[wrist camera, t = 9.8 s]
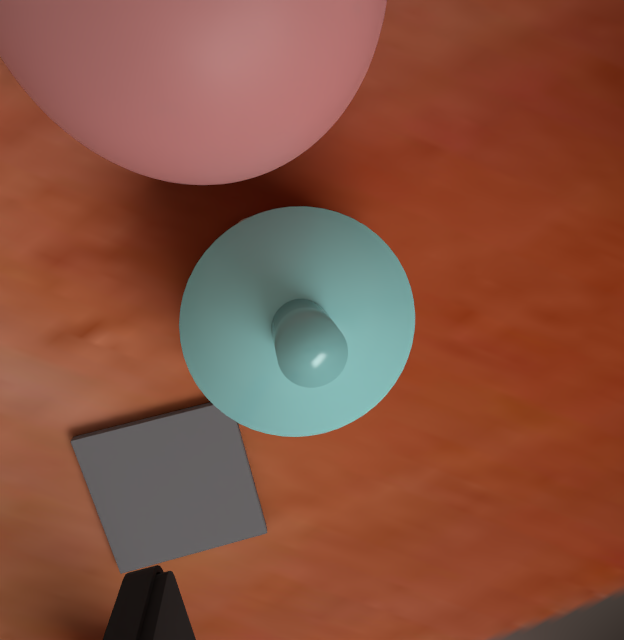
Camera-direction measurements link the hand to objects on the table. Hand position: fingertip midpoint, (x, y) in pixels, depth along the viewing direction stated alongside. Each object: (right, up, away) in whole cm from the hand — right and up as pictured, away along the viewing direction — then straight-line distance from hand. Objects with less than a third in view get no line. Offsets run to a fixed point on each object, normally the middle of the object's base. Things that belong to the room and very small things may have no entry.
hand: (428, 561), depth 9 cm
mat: (-11, -6, +23) cm, 26 cm away
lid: (-3, +4, +17) cm, 17 cm away
